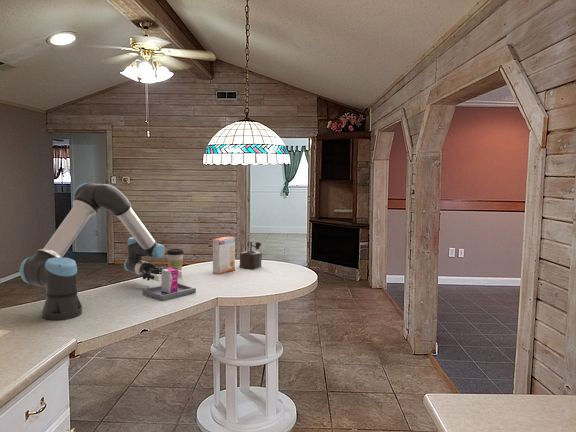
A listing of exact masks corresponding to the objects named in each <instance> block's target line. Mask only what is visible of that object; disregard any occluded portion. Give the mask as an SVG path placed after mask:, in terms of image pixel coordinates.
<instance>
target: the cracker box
mask: <svg viewBox="0 0 576 432" xmlns="http://www.w3.org/2000/svg"><path fill="white" fill-rule="evenodd" d="M235 270H236V237H235V236H230V235H229V236H223V237H218V238H213V239H212V274H216V275H221V274H225V273H229V272H233V271H235Z"/></svg>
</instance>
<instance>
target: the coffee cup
mask: <svg viewBox="0 0 576 432" xmlns="http://www.w3.org/2000/svg"><path fill="white" fill-rule="evenodd" d="M165 254H166V255H167V267H170V268H174V267H175V268H177V270H179V271H182V270H183V261H184V254H185V253H184V250H183V249H181V248H170V249H167V251H166V253H165ZM179 277H180V276H178V278H179Z"/></svg>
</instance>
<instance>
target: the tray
mask: <svg viewBox="0 0 576 432" xmlns="http://www.w3.org/2000/svg"><path fill="white" fill-rule="evenodd" d="M196 292H197V288H196V287H194V286H190V285H187V284H184V283H180V282H178V287H177V292H174V293H170V294H167V293H163V292H161V285H157V286H153V287H148V288H143V289H142V295H143V296H145V297H149V298H152V299H154V300H158V301H161V302H164V301H169V300H172V299H173V300H174V299H177V298H180V297H184V296H188V295H192V294H196Z"/></svg>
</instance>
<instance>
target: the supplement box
mask: <svg viewBox="0 0 576 432" xmlns="http://www.w3.org/2000/svg"><path fill="white" fill-rule="evenodd" d="M178 279H179V277H178V270H177V269H172V268H168V269H163V270H162V274H161V285H160V286H161V292H163V293H167V294H170V293H174V292H177V287H178V283H179V282H178V281H179V280H178Z"/></svg>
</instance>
